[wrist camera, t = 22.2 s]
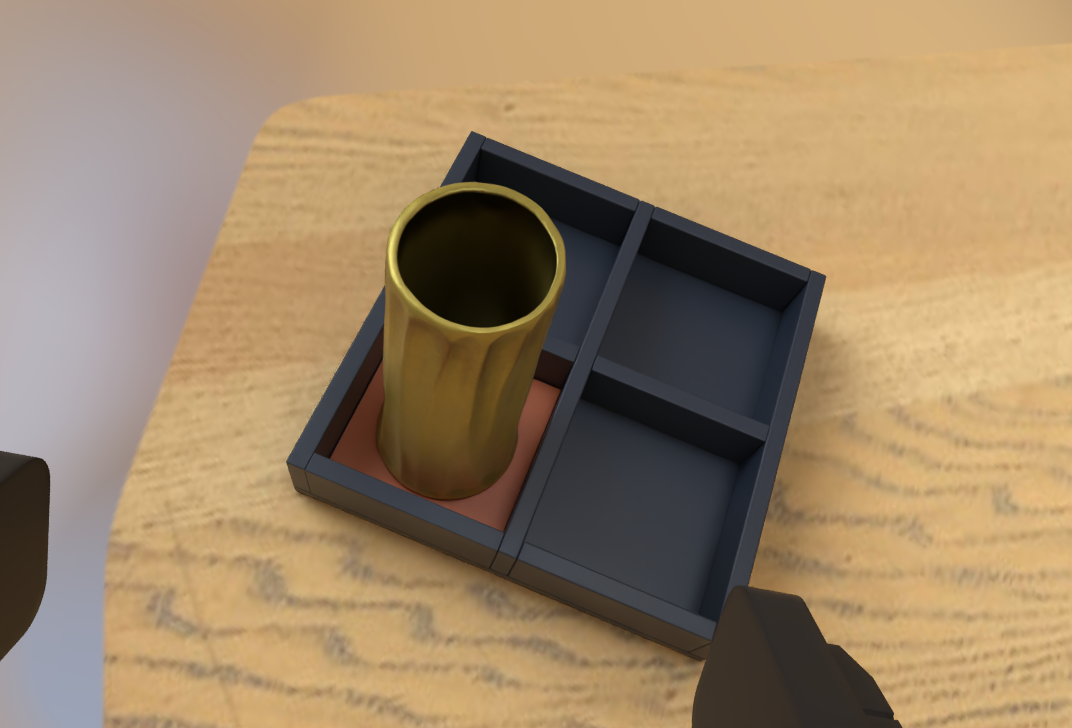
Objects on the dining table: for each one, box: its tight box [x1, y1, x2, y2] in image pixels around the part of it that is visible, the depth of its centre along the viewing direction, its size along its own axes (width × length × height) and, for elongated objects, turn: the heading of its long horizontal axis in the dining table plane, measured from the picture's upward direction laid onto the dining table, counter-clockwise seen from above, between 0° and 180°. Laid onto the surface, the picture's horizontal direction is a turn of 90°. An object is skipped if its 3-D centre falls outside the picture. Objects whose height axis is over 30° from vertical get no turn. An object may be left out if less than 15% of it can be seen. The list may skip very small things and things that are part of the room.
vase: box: [376, 182, 566, 499], centre depth 30 cm, size 6×6×14 cm
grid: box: [286, 131, 826, 661], centre depth 38 cm, size 18×18×4 cm
